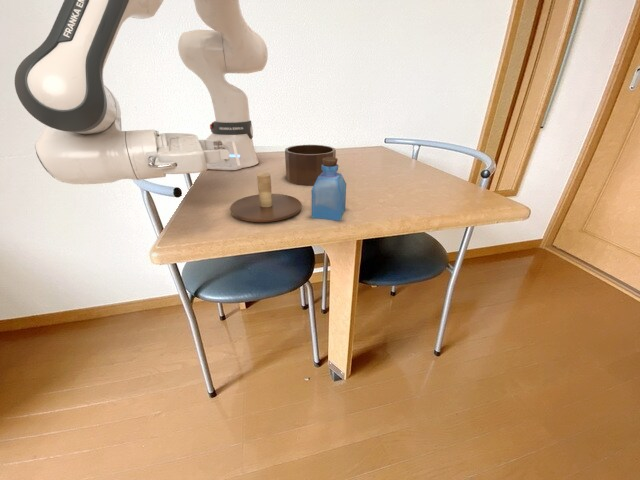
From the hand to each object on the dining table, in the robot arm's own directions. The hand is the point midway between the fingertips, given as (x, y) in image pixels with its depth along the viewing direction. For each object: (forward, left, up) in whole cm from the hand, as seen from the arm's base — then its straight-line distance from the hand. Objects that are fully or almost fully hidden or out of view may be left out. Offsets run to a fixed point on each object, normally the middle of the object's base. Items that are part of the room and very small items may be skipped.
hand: (225, 148), depth 61 cm
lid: (+7, -1, -13) cm, 15 cm away
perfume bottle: (+21, -4, -14) cm, 26 cm away
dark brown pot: (+18, +24, -14) cm, 33 cm away
